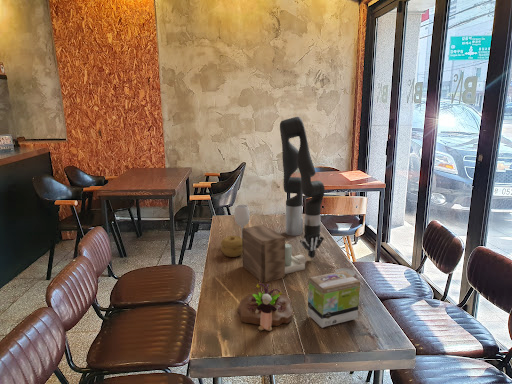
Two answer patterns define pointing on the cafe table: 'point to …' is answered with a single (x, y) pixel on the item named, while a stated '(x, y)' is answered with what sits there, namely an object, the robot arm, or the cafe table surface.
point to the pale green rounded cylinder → (288, 255)
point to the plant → (251, 304)
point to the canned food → (347, 271)
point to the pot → (232, 246)
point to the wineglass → (241, 215)
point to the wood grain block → (263, 253)
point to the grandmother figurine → (266, 312)
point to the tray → (296, 264)
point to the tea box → (333, 298)
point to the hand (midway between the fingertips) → (311, 257)
